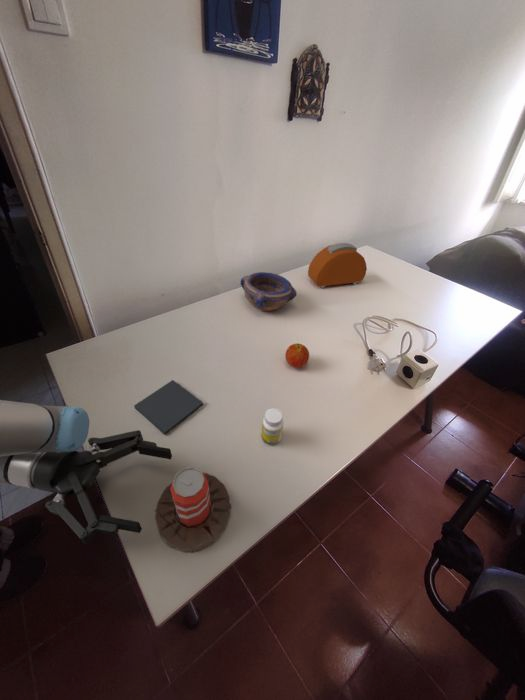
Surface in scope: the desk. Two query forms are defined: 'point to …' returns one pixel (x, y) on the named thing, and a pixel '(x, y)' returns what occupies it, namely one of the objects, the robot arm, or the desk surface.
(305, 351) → the fruit
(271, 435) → the supplement bottle
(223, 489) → the socket
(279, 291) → the bowl
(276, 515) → the desk surface
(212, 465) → the desk surface
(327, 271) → the orange toaster
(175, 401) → the mat
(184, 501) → the beverage can
